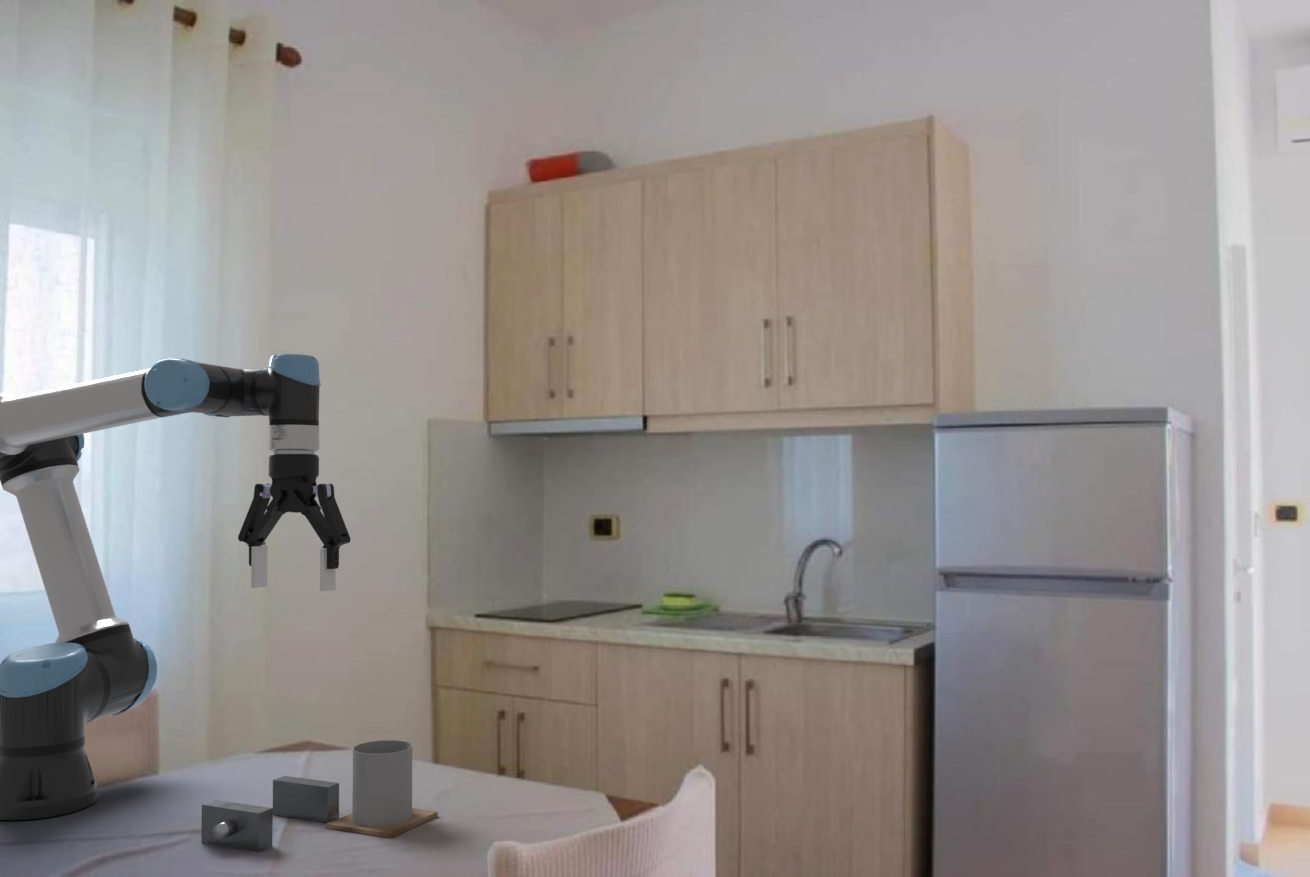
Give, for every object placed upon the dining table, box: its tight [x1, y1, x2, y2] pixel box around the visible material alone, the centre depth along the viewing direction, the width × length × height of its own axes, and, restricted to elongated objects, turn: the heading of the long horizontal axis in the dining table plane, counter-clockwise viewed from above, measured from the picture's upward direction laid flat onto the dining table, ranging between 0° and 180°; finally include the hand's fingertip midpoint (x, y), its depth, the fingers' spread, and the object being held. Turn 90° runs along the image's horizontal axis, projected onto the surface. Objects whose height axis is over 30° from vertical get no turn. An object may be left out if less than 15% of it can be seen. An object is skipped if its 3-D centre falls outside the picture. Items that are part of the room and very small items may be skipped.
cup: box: [351, 739, 413, 827], centre depth 161 cm, size 8×8×10 cm
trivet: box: [325, 807, 439, 839], centre depth 161 cm, size 11×11×1 cm
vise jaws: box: [200, 775, 340, 853], centre depth 157 cm, size 10×20×5 cm, turn 156°
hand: (292, 589), depth 176 cm, fingers open, 13 cm apart
